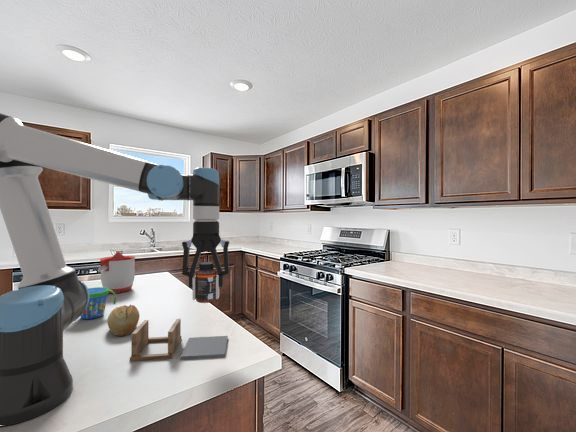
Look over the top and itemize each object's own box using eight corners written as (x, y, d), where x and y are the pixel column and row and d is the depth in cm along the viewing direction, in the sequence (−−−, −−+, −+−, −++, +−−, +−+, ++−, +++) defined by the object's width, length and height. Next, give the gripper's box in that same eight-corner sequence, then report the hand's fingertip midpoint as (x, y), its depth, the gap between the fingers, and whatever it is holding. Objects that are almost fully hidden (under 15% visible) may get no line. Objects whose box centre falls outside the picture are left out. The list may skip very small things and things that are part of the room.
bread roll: (137, 319, 108) (137, 298, 108) (141, 334, 95) (141, 310, 95) (107, 325, 103) (107, 303, 103) (107, 340, 90) (107, 315, 90)
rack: (171, 358, 79) (171, 333, 79) (129, 361, 78) (129, 335, 78) (181, 339, 92) (181, 317, 91) (145, 340, 90) (145, 318, 90)
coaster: (224, 356, 81) (224, 353, 81) (180, 359, 79) (180, 356, 79) (227, 338, 92) (227, 335, 92) (189, 340, 91) (189, 337, 91)
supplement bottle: (216, 302, 83) (216, 264, 83) (195, 304, 82) (195, 265, 82) (216, 297, 89) (216, 260, 89) (196, 298, 88) (196, 261, 87)
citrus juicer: (89, 293, 141) (89, 253, 141) (121, 285, 157) (121, 249, 157) (110, 297, 135) (110, 255, 135) (142, 288, 151) (142, 251, 151)
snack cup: (115, 309, 119) (115, 284, 119) (116, 316, 111) (116, 290, 110) (68, 316, 111) (68, 290, 111) (65, 325, 102) (65, 297, 102)
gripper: (238, 220, 90) (238, 293, 91) (176, 220, 88) (176, 295, 88) (238, 221, 83) (237, 300, 83) (169, 221, 80) (169, 303, 80)
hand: (206, 297), depth 85 cm, fingers closed on supplement bottle, 6 cm apart
